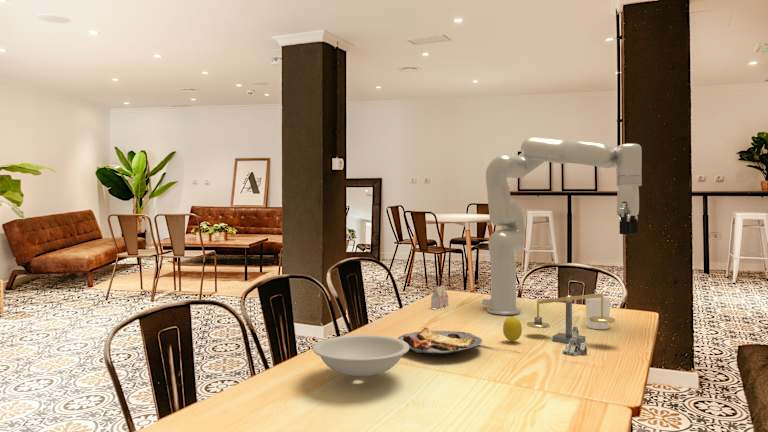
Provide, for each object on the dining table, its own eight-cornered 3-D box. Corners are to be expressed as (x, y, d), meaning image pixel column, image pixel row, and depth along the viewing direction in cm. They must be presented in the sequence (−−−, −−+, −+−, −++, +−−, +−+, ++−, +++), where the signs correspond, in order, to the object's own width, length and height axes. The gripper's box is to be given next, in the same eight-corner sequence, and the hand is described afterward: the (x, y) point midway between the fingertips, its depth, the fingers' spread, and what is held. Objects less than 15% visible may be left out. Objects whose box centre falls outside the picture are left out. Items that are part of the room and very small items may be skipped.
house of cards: (588, 362, 140) (588, 333, 140) (558, 355, 147) (558, 328, 147) (604, 356, 146) (604, 328, 146) (575, 350, 153) (575, 323, 153)
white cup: (605, 325, 184) (606, 296, 184) (613, 330, 176) (613, 300, 176) (582, 324, 185) (582, 296, 185) (589, 329, 177) (589, 300, 177)
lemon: (522, 341, 162) (522, 315, 162) (520, 345, 157) (521, 318, 157) (504, 339, 164) (504, 313, 164) (501, 343, 159) (502, 317, 159)
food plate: (381, 347, 157) (380, 335, 156) (429, 333, 174) (429, 322, 174) (450, 363, 140) (449, 350, 139) (496, 346, 157) (496, 335, 157)
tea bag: (431, 312, 208) (431, 287, 208) (440, 309, 214) (440, 285, 214) (439, 313, 206) (439, 288, 206) (448, 310, 212) (448, 285, 211)
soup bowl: (375, 395, 115) (375, 365, 115) (292, 377, 128) (292, 350, 128) (426, 367, 136) (426, 341, 135) (350, 354, 148) (350, 330, 148)
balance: (523, 336, 167) (523, 287, 167) (532, 332, 173) (532, 285, 173) (611, 350, 151) (611, 296, 151) (618, 345, 156) (618, 293, 156)
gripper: (623, 183, 183) (623, 232, 183) (609, 181, 169) (609, 234, 170) (647, 182, 178) (647, 233, 178) (634, 180, 165) (634, 235, 165)
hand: (628, 233), depth 174 cm, fingers open, 9 cm apart
